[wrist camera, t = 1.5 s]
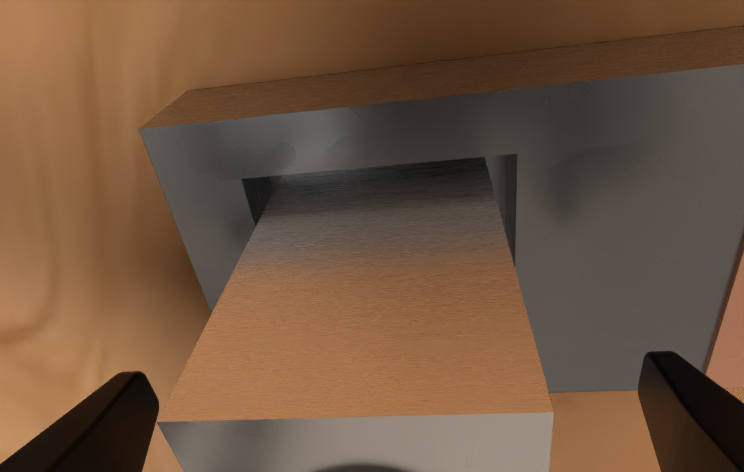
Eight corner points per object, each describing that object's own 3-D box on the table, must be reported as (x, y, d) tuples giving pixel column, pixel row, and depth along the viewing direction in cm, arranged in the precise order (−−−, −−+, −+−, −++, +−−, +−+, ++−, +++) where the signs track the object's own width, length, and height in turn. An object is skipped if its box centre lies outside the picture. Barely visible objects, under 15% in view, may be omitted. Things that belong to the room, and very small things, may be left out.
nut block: (321, 314, 14) (252, 609, 8) (286, 167, 12) (150, 433, 6) (485, 305, 14) (539, 617, 8) (482, 149, 11) (557, 424, 5)
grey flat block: (268, 338, 16) (245, 404, 14) (187, 91, 12) (136, 130, 10) (986, 304, 14) (1095, 379, 11) (1206, -29, 9) (1445, -10, 7)
